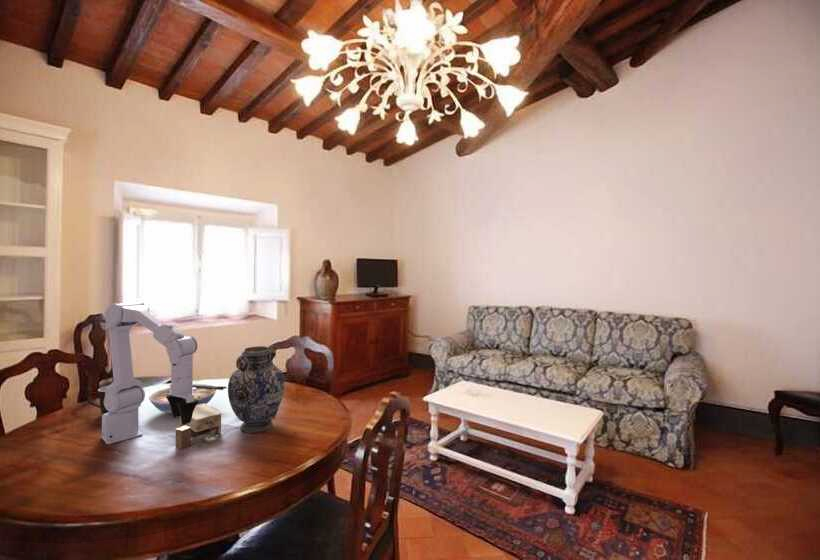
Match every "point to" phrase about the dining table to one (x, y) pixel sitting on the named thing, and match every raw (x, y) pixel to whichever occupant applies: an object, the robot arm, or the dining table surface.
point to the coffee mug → (101, 397)
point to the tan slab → (204, 419)
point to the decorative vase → (256, 388)
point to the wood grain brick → (188, 437)
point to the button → (211, 437)
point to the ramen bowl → (201, 394)
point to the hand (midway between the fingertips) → (181, 420)
